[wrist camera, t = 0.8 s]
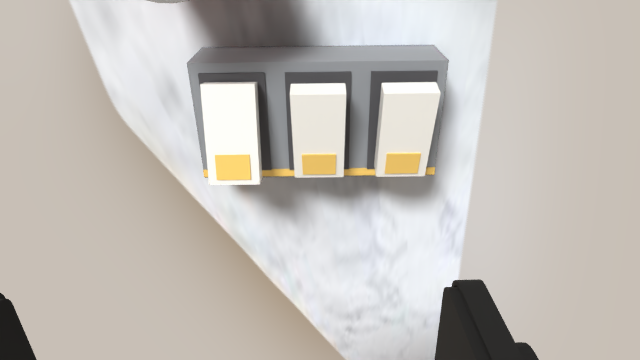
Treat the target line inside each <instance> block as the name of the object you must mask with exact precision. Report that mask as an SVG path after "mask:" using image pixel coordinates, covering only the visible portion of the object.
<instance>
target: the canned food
mask: <svg viewBox="0 0 640 360" xmlns="http://www.w3.org/2000/svg"><path fill="white" fill-rule="evenodd" d="M148 1H152V2H157V3H178V2H183V1H189V0H148Z"/></svg>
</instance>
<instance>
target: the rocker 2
mask: <svg viewBox="0 0 640 360" xmlns="http://www.w3.org/2000/svg"><path fill="white" fill-rule="evenodd" d="M290 107H291V124H292V140H293V156H294V172H295V178H312V177H344V147H345V118H346V86H345V83H316V84H291V86H290Z"/></svg>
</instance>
